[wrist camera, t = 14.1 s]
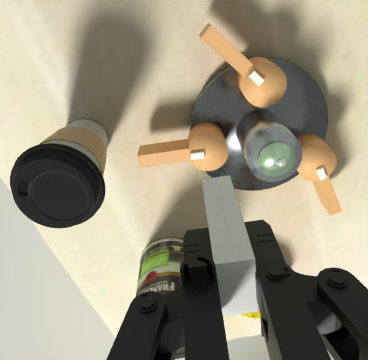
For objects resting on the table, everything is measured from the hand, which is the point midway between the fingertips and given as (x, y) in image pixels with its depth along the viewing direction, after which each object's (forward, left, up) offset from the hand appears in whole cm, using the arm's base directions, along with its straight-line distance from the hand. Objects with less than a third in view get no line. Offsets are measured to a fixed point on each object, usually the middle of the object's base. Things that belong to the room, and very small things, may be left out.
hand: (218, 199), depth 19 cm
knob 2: (+1, +6, -27) cm, 27 cm away
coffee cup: (-3, -16, -29) cm, 33 cm away
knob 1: (+5, -6, -27) cm, 28 cm away
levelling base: (+10, +3, -28) cm, 30 cm away
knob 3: (+19, +6, -27) cm, 33 cm away
